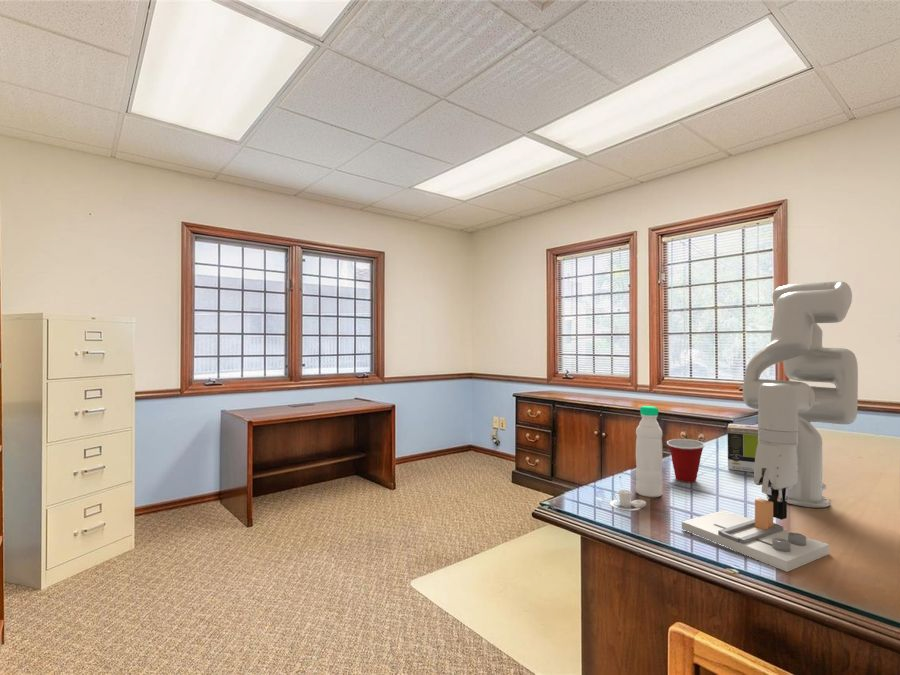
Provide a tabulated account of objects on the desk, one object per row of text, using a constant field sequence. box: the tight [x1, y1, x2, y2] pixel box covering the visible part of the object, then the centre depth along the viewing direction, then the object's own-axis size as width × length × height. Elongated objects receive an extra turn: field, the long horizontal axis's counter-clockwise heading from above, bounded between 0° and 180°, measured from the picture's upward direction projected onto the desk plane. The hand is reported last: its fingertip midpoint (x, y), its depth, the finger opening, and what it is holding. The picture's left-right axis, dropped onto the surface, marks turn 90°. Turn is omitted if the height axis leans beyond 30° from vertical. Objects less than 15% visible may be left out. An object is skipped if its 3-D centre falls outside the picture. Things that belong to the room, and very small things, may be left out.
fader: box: [754, 497, 774, 530], centre depth 105 cm, size 2×3×6 cm
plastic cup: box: [666, 438, 705, 483], centre depth 148 cm, size 11×11×12 cm
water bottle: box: [635, 405, 663, 498], centre depth 134 cm, size 7×7×25 cm
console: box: [681, 509, 830, 573], centre depth 103 cm, size 16×22×4 cm
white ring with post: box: [609, 489, 647, 512], centre depth 125 cm, size 9×8×4 cm
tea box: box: [726, 423, 758, 473], centre depth 161 cm, size 15×10×15 cm
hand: (777, 517), depth 107 cm, fingers closed
